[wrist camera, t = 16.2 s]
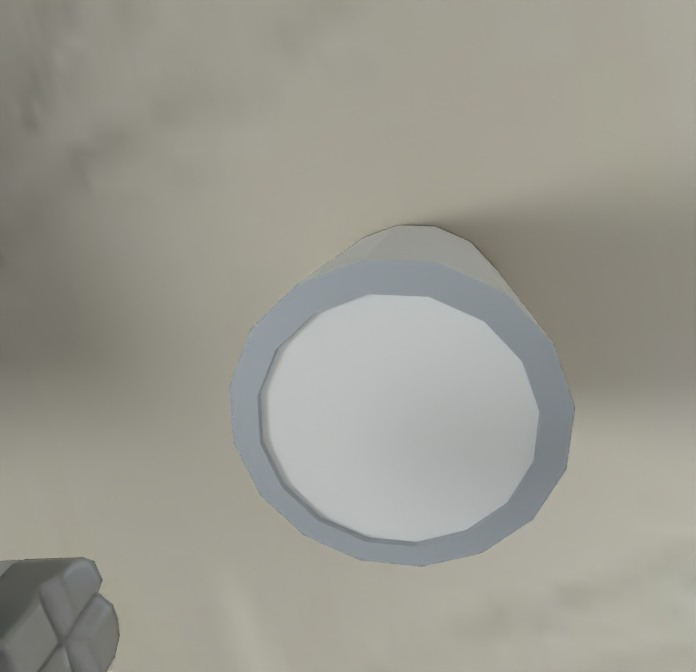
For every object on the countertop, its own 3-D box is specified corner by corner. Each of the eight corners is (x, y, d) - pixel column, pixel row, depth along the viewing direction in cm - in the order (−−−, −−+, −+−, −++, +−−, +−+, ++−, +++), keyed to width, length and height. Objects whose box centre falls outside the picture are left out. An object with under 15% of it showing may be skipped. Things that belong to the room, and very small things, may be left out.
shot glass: (322, 178, 18) (250, 220, 11) (561, 232, 17) (631, 308, 11) (285, 389, 20) (208, 524, 14) (492, 441, 20) (515, 605, 13)
